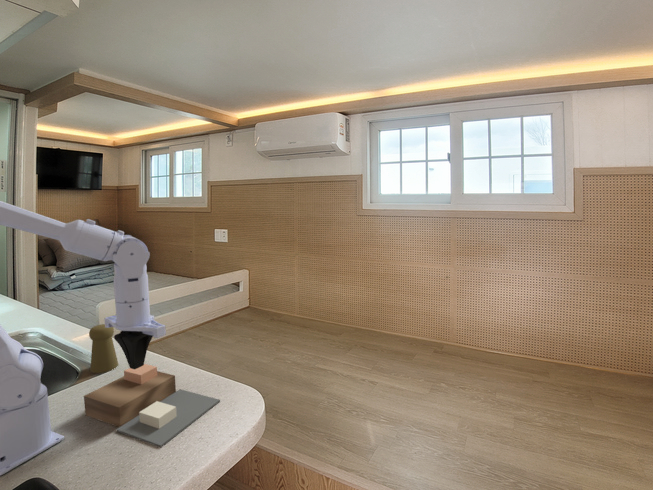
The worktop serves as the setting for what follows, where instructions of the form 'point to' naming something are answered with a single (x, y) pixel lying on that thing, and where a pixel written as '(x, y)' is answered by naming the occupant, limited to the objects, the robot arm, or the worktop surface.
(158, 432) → the rubber mat
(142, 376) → the terracotta tile
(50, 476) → the worktop surface
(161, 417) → the cream tile
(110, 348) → the olive tall rounded piece
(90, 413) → the walnut board
